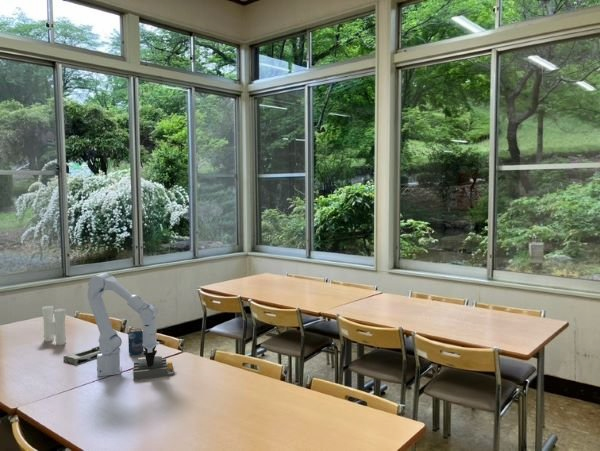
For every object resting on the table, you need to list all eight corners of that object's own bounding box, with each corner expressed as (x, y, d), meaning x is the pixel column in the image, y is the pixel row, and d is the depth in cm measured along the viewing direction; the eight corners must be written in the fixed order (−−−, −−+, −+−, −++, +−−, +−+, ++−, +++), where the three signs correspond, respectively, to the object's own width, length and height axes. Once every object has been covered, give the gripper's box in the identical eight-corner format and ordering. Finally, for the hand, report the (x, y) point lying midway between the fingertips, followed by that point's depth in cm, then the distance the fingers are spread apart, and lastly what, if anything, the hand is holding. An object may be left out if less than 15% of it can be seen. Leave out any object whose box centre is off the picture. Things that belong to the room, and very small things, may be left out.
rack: (133, 380, 200) (133, 370, 200) (134, 369, 212) (133, 361, 212) (173, 375, 206) (173, 366, 205) (172, 365, 217) (171, 357, 217)
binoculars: (41, 340, 256) (40, 307, 255) (51, 337, 261) (50, 305, 260) (58, 345, 247) (57, 311, 245) (68, 342, 251) (67, 309, 250)
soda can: (134, 357, 229) (133, 333, 228) (125, 354, 233) (125, 330, 232) (146, 353, 234) (145, 329, 233) (138, 350, 238) (137, 327, 238)
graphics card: (63, 356, 223) (108, 341, 244) (63, 363, 223) (109, 348, 244) (76, 359, 218) (121, 344, 239) (76, 367, 218) (121, 351, 239)
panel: (138, 372, 206) (138, 359, 206) (138, 371, 208) (138, 358, 207) (162, 369, 209) (162, 356, 209) (162, 368, 211) (162, 355, 210)
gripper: (159, 337, 202) (160, 368, 203) (158, 328, 215) (159, 357, 216) (142, 338, 200) (142, 370, 200) (142, 329, 213) (143, 358, 214)
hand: (150, 363), depth 208 cm, fingers open, 6 cm apart
